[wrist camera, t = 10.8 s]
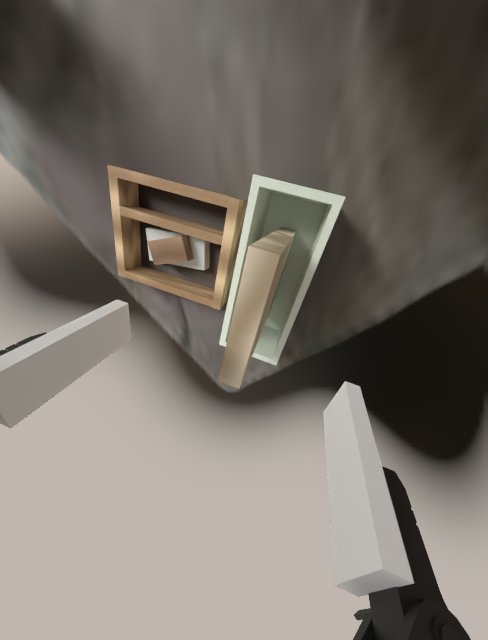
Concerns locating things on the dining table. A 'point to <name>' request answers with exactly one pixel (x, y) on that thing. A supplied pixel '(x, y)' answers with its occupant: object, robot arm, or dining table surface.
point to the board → (254, 301)
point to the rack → (128, 230)
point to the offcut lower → (198, 247)
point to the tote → (310, 240)
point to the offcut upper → (171, 250)
